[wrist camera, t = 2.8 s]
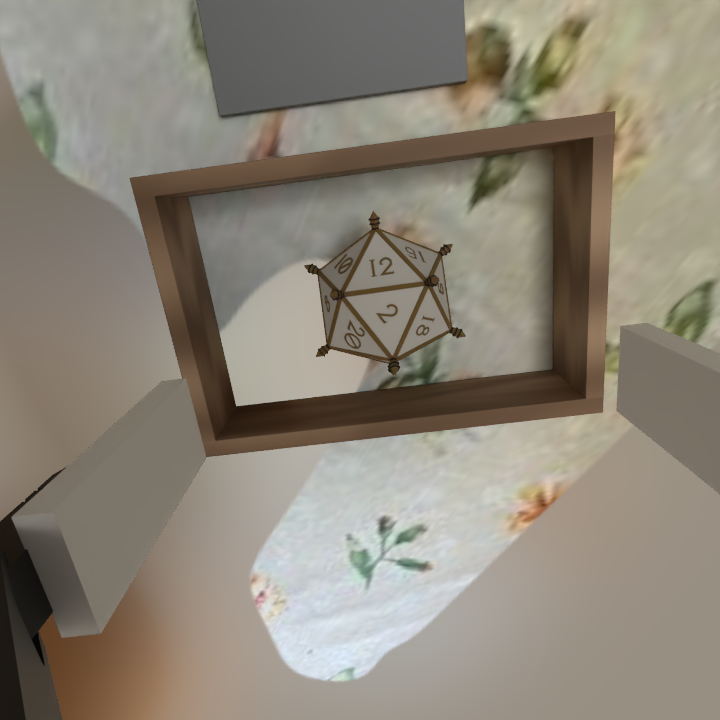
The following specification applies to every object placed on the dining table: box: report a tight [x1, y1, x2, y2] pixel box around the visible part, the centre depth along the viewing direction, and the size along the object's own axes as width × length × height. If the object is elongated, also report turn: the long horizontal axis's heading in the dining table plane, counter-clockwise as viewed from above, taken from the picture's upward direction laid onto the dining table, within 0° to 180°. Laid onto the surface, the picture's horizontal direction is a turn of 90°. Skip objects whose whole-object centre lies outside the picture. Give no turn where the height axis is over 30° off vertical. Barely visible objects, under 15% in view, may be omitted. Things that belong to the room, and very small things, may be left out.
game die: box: [305, 211, 466, 375], centre depth 27 cm, size 9×8×10 cm
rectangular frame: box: [130, 111, 615, 457], centre depth 28 cm, size 16×24×5 cm, turn 97°
